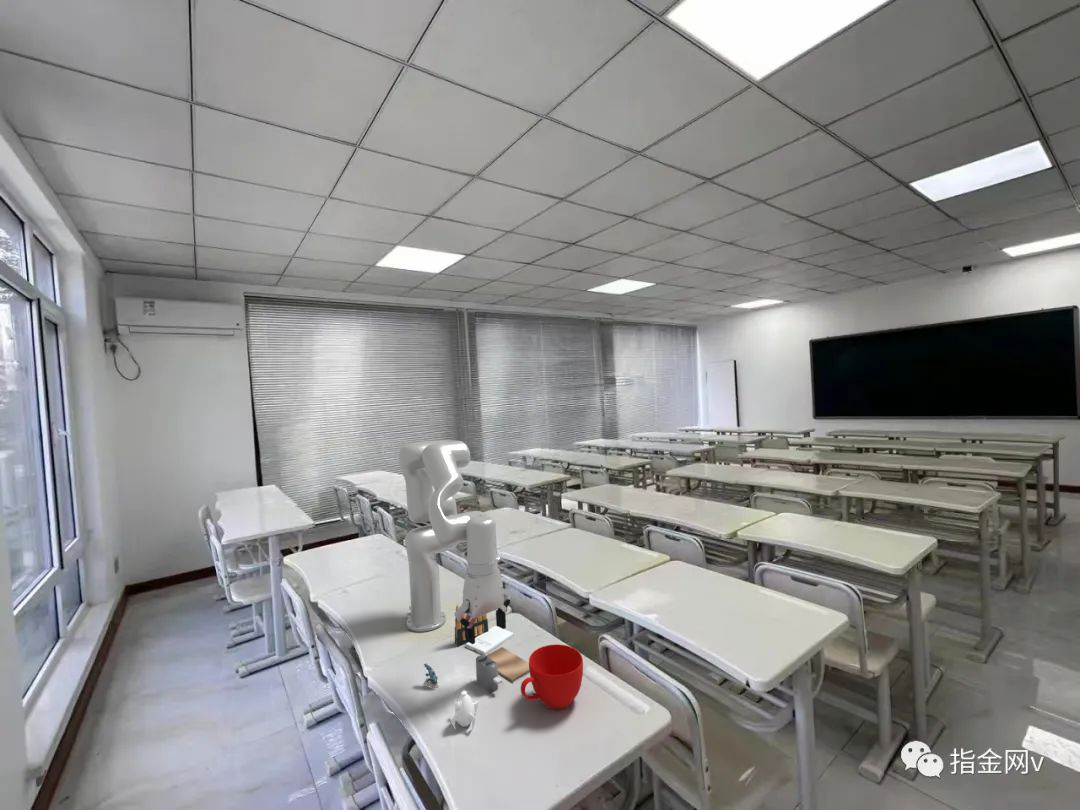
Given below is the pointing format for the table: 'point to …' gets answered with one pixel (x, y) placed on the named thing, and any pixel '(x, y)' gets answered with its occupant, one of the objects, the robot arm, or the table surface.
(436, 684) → the sculpture
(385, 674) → the table surface
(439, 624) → the robot arm
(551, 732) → the table surface
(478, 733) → the table surface
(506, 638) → the external hard drive
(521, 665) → the wood pad
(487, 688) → the connector
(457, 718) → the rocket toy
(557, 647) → the ceramic cup
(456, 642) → the ammunition clip
